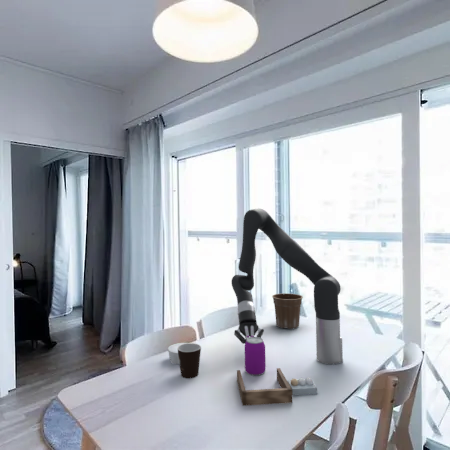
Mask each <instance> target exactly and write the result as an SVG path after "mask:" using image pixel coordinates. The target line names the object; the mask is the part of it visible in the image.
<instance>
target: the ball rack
mask: <svg viewBox="0 0 450 450" xmlns="http://www.w3.org/2000/svg"><path fill="white" fill-rule="evenodd" d="M286 380H287V379H286ZM287 382H288V383H289V385H290V387H291V389H292V396H304V395H317V394H318V388H317V386H316V384H315V383H314V381H313V378H310V377H307V378H306V379H305V378H302V377H301V378H299V379H296V378H292V379H288V380H287Z"/></svg>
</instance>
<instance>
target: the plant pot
mask: <svg viewBox="0 0 450 450" xmlns="http://www.w3.org/2000/svg"><path fill="white" fill-rule="evenodd" d="M271 297H272V299H273V304H274V312H275V325H276V326H277V328H281V329H289V330H294V329H297V327H298V328H299V326H300V321H301V319H300V318H301V317H300V316H301V307H302V302H303V301H302V300H303V298H304V297H303V295H300V294H297V293H286V292H285V293H275V294H272V296H271ZM293 328H294V329H293Z"/></svg>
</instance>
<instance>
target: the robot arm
mask: <svg viewBox="0 0 450 450" xmlns="http://www.w3.org/2000/svg"><path fill="white" fill-rule="evenodd" d="M242 226H243V228H242V229H243V230H242V244H241V252H240V256H239V257H240V258H239V263H238V270H239V271H240V272H242V273H244V274H246V275H243V274H235V275H233V276H232V278H231V287H232V290H233V292H234V294H235V296H236V300H237V301H236V302H237V315H238V317H237V318H238V328H237V329H235V330H234V332H233V333H234V334H233V335H234V336H235V337H236V338H237V340H239V341H240V343H241V344H243V345H245V343H246V340H247V338H250V337H255V335H256V334H257V335H256V337H259V338H261V337H262V336H263V334H264V332H265V330H264V329H263V328H260V327H259V325H258V321H257V317H256V311H255V309H256V308H255V305H254V299H253V298H254V297H253V295H252V293H251V291H252V289H254V286H255V279H254V269H255V265H256V264H255V263H256V256H257V251H256V250H257V249H256V238H257V234H258V231H259V230H260V232H261V231H262V233H263V234H265V235H266V236H267V237H268V238H269V240H270V242H271V243H272V246H273V249H274V250H275V252H276V254H278V256H279V257H280V258H281V259H282V260H283V261H284V262H285V263H286V264H287V265H289V266H290V268H293V269H294V270H296V272H299V273H301V274H302V275H304V276H305V277H306V278H307V279H308V280H309V281H310V282H311V283H312V284H313V285H314V286H313V306H314V307H313V308H314V311H315V337H316V338H315V341H316V344H315V346H316V348H315V350H316V351H315V352H316V354H315V355H316V360H317V361H318V362H320V363H321V364H324V365H338V364H340V363H343V362H344V361H343V360H344V359H343V337H341V319H340V318H341V313H340V309H339V294H341V293H340V292H341V289H342V287H341V285H340V282H339V281H338V280H337V279H336V277H334V276H333V275H332V274H330V273H329V272H327V270H326V269H324V268H323V267H321V265H320V264H318V263H317V262H316V261H315V260H314V259H313V258H312V256H310V255H309V253H308V252H307V251H306V250H305V249H304V248H303V247H302V246H301V245H299V243H298V242H296V240H294V238H293V237H291V236H290V235H289V234H288V233H287V232H286V231H285V230H283V228H282V227H281V226H280V225H278V223H277V222H276V221H275V219H273V217H272V216H271V215H270V213H268V211H266V210H265V209H264V208H252V209H249V210H247V211H246V212H245V213H244V217H243V224H242Z"/></svg>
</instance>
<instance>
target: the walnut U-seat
mask: <svg viewBox="0 0 450 450" xmlns="http://www.w3.org/2000/svg"><path fill="white" fill-rule="evenodd" d="M276 381H277V383H278V385H279V386H280V388H278V387H277V388H263V389H262V388H261V389H246V386H245V383H244V380H243V376H242V371H241V370H240V369H238V370H236V382H237V387H238V392H239V396H240V400H241V404H242V406H261V405H262V406H263V405H275V404H276V405H277V404H290V403H291V404H292V403H293V395H292V389H291V387H290V385H289V383H288V382H287V378H286V376H285V374H284V373H283V371H282V369H281V368H280V367H277V368H276Z"/></svg>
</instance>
